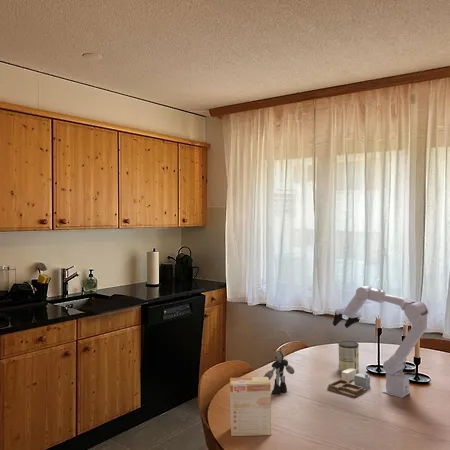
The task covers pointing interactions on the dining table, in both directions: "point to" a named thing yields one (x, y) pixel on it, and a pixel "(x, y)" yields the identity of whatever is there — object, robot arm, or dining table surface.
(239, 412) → the coffeecake box
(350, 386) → the jig
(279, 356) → the robot
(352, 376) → the cream rectangular block
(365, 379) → the blue box with knob
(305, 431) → the dining table surface
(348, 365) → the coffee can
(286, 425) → the dining table surface
